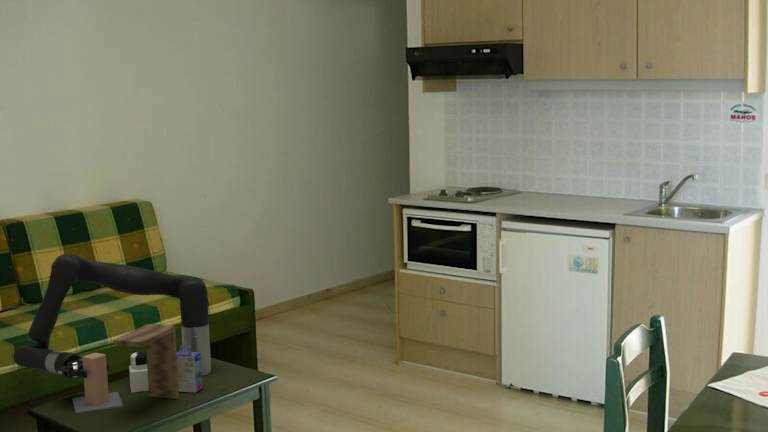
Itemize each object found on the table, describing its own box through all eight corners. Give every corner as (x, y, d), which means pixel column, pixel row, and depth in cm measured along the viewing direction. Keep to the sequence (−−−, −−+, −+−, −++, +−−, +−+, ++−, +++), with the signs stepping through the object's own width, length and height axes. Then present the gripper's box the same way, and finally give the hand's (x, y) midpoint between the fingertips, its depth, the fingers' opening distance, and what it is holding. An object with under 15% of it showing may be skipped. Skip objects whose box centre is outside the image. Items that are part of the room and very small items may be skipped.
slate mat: (72, 400, 293) (72, 398, 293) (117, 393, 299) (117, 391, 299) (76, 414, 281) (75, 412, 281) (123, 407, 286) (123, 405, 286)
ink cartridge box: (203, 387, 303) (201, 345, 301) (196, 393, 298) (194, 349, 295) (175, 386, 305) (173, 344, 303) (168, 391, 300) (165, 348, 297)
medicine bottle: (152, 383, 308) (150, 349, 306) (153, 390, 301) (151, 354, 300) (130, 386, 306) (128, 351, 304) (131, 392, 299) (129, 357, 297)
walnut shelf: (118, 415, 279) (113, 340, 276) (151, 394, 297) (147, 324, 294) (146, 418, 276) (142, 342, 273) (178, 397, 294) (175, 325, 291)
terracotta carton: (85, 402, 289) (82, 356, 287) (98, 398, 293) (95, 352, 291) (96, 405, 286) (93, 358, 284) (108, 400, 290) (105, 354, 288)
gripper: (43, 357, 290) (78, 365, 281) (80, 346, 301) (114, 353, 293) (45, 380, 291) (79, 389, 282) (81, 368, 303) (115, 376, 294)
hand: (97, 370), depth 287 cm, fingers open, 8 cm apart
